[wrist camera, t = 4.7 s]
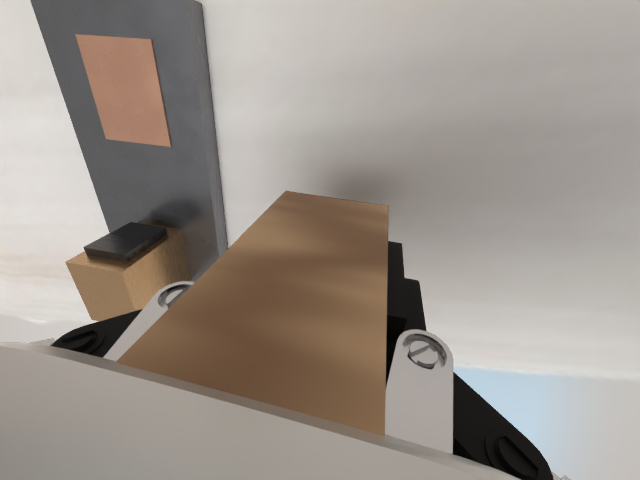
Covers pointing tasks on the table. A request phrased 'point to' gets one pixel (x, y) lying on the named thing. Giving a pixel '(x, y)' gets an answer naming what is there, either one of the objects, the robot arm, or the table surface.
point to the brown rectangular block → (288, 314)
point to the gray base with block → (140, 143)
